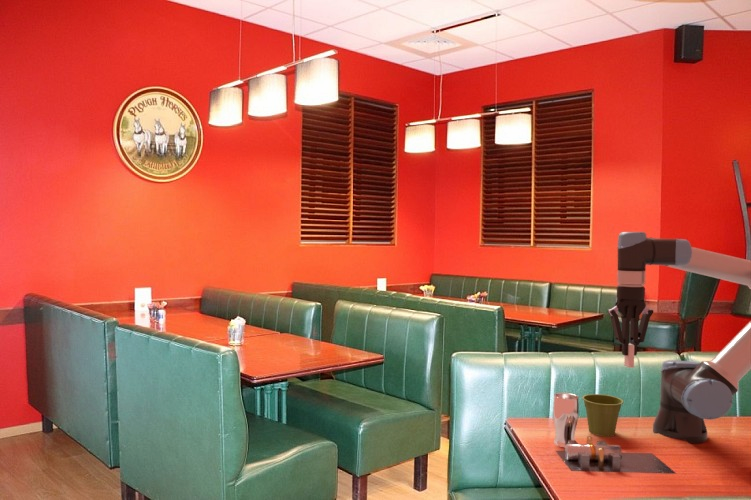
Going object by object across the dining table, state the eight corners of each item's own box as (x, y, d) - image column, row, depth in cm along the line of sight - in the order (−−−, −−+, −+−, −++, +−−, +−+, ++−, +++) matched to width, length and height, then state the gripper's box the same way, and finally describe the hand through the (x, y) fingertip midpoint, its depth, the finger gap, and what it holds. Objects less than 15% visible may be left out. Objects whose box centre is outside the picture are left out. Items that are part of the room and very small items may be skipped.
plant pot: (612, 429, 195) (613, 393, 195) (628, 442, 183) (630, 405, 183) (575, 428, 195) (576, 393, 194) (589, 441, 183) (590, 404, 182)
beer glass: (578, 452, 174) (580, 400, 173) (552, 450, 175) (554, 398, 174) (575, 444, 180) (577, 393, 180) (551, 442, 182) (552, 391, 181)
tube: (617, 461, 167) (615, 446, 169) (622, 459, 163) (620, 444, 165) (565, 460, 167) (563, 445, 169) (570, 458, 163) (568, 442, 165)
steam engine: (652, 456, 172) (652, 435, 172) (676, 477, 158) (677, 454, 158) (555, 454, 172) (556, 433, 172) (571, 474, 158) (571, 451, 158)
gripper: (646, 284, 182) (644, 363, 183) (603, 284, 181) (601, 363, 182) (659, 286, 174) (657, 369, 175) (614, 286, 173) (613, 369, 174)
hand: (629, 366), depth 179 cm, fingers closed
